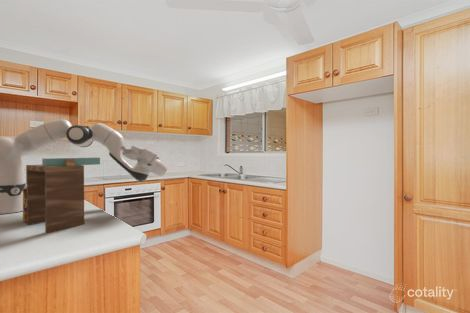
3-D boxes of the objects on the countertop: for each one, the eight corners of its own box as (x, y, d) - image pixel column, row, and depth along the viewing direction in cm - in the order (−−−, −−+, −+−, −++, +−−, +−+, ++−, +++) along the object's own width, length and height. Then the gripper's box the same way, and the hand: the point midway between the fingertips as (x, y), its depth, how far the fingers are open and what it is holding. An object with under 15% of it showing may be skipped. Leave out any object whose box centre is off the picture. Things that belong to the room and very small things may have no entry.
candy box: (22, 222, 111) (22, 188, 111) (24, 220, 115) (23, 187, 114) (47, 219, 116) (47, 187, 115) (48, 217, 119) (47, 186, 119)
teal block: (42, 166, 101) (42, 158, 101) (96, 164, 120) (96, 157, 120) (45, 166, 100) (45, 158, 100) (100, 164, 118) (99, 157, 118)
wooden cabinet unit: (26, 224, 108) (26, 158, 108) (62, 217, 120) (62, 157, 119) (47, 232, 98) (46, 159, 97) (84, 224, 110) (83, 158, 109)
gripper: (136, 154, 149) (117, 142, 139) (159, 155, 138) (141, 142, 128) (131, 163, 146) (112, 152, 136) (154, 165, 136) (135, 152, 125)
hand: (126, 147), depth 132 cm, fingers open, 8 cm apart
